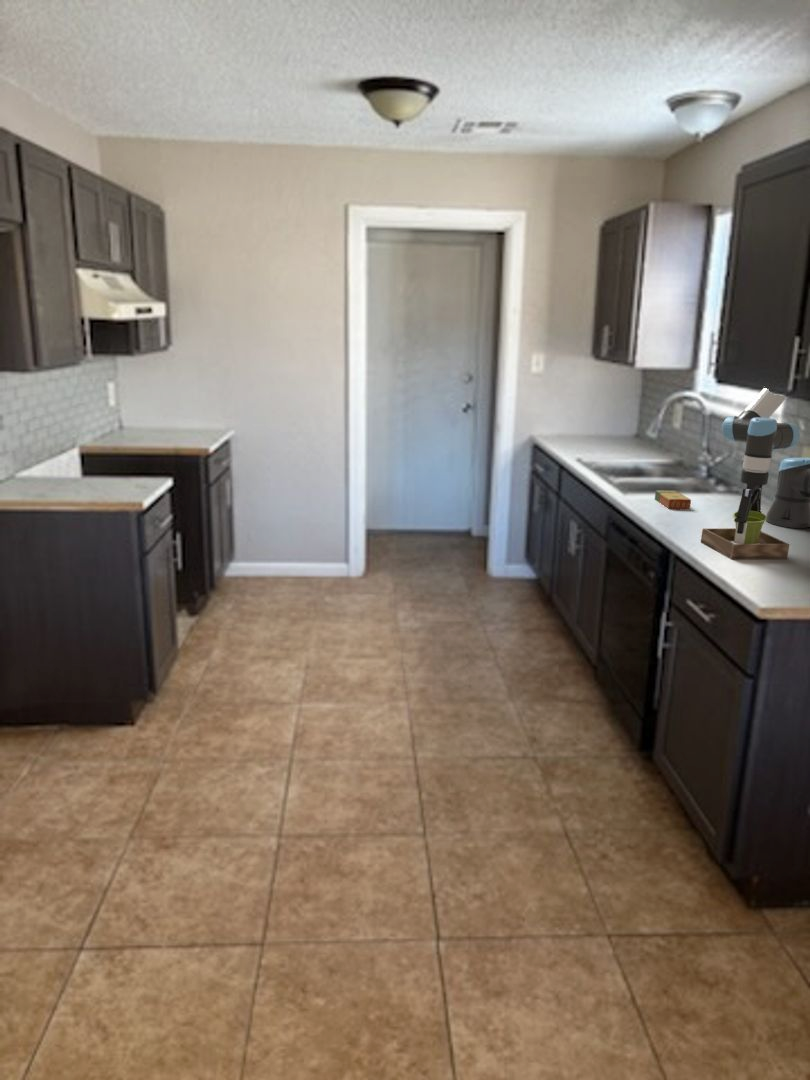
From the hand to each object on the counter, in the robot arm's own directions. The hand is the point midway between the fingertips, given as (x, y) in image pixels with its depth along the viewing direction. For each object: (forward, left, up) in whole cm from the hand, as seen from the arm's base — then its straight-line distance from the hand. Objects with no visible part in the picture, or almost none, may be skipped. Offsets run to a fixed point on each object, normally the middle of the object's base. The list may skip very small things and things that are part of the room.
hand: (744, 539), depth 252 cm
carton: (-7, -60, -4) cm, 60 cm away
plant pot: (-2, -2, -2) cm, 4 cm away
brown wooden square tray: (0, 0, -4) cm, 4 cm away
